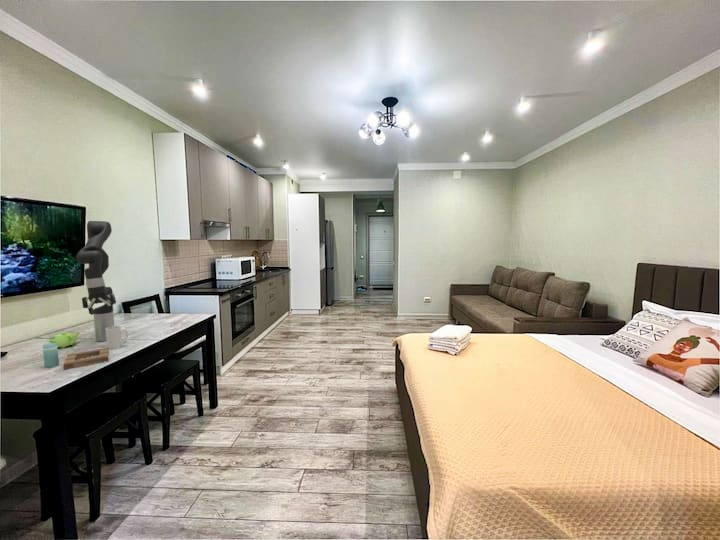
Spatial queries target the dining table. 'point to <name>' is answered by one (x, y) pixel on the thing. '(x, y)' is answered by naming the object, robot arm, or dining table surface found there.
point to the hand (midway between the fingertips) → (101, 313)
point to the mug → (115, 336)
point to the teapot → (64, 339)
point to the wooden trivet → (73, 362)
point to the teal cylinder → (50, 355)
